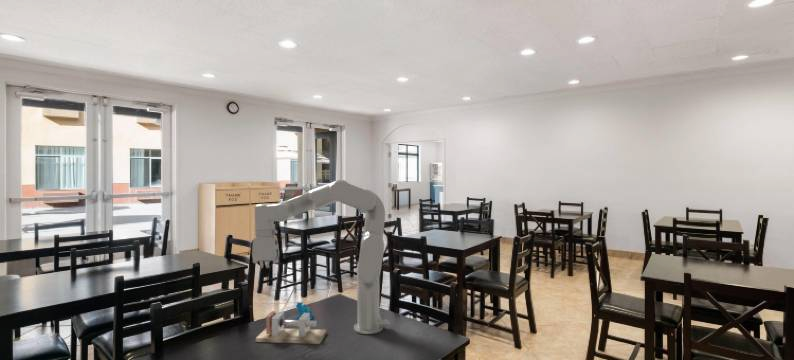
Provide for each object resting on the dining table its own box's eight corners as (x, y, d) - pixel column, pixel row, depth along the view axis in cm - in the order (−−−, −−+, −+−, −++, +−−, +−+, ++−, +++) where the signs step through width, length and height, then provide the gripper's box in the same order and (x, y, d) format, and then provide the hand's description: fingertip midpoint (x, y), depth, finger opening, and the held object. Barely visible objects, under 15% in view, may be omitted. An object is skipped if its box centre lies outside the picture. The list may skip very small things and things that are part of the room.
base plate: (326, 333, 164) (326, 329, 164) (319, 343, 154) (319, 340, 154) (265, 331, 166) (265, 328, 166) (255, 341, 156) (255, 338, 156)
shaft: (317, 329, 162) (317, 312, 162) (313, 335, 156) (313, 317, 156) (272, 327, 163) (271, 311, 163) (266, 333, 157) (266, 316, 157)
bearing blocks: (309, 330, 163) (309, 312, 163) (304, 337, 156) (304, 319, 156) (278, 329, 164) (278, 312, 164) (271, 336, 157) (271, 318, 157)
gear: (309, 320, 173) (294, 303, 175) (299, 329, 174) (285, 312, 175) (317, 314, 184) (304, 298, 186) (309, 323, 184) (295, 307, 186)
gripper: (285, 231, 167) (286, 274, 167) (251, 232, 168) (252, 274, 168) (279, 234, 159) (280, 279, 160) (243, 235, 160) (244, 279, 161)
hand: (266, 276), depth 164 cm, fingers closed
